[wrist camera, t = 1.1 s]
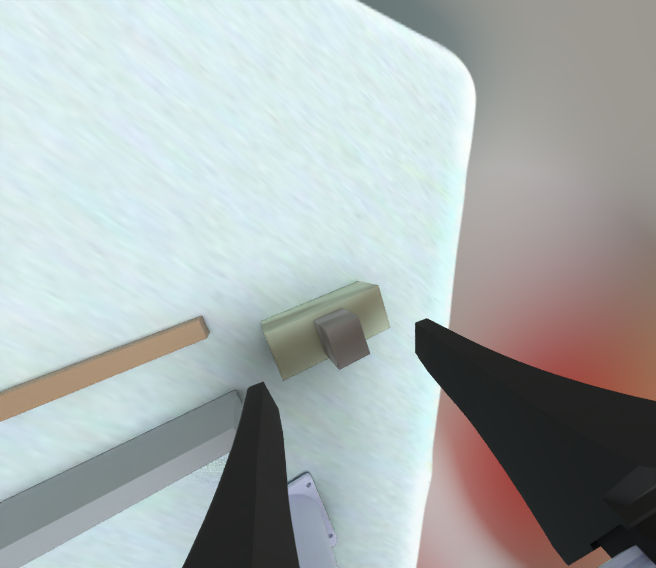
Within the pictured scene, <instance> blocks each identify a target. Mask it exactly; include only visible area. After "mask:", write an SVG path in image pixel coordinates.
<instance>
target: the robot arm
mask: <svg viewBox="0 0 656 568" xmlns="http://www.w3.org/2000/svg"><path fill="white" fill-rule="evenodd" d="M415 353H416V354H417V356H418V358H419V359H420V361H421V362H422V364H423V365H424V367H425V368H426V369H427V371H428V372H429V373H430V375H431V376H432V377H433V378H434V379H435V381H436V382H437V383H438V384H439V385H440V387H441V388H442V389H443V390H444V391H445V392H446V394H447V395H448V396H449V397H450V398H451V399H452V400H453V402H454V403H455V404H456V405H457V406H458V407H459V409H460V410H461V411H462V412H463V413H464V415H465V416H466V417H467V418H468V420H469V421H470V422H471V423H472V425H473V426H474V427H475V428H476V430H477V431H478V433H479V434H480V436H481V437H482V438H483V440H484V441H485V443H486V444H487V445H488V447H489V448H490V450H491V451H492V453H493V454H494V455H495V457H496V458H497V460H498V461H499V463H500V464H501V466H502V467H503V468H504V470H505V471H506V473H507V474H508V476H509V477H510V479H511V481H512V482H513V484H514V485H515V486H516V488H517V490H518V491H519V493H520V494H521V496H522V497H523V499H524V500H525V502H526V504H527V505H528V507H529V508H530V510H531V512H532V513H533V515H534V516H535V518H536V520H537V521H538V523H539V524H540V526H541V528H542V529H543V531H544V532H545V534H546V536H547V537H548V539H549V541H550V542H551V544H552V546H553V547H554V549H555V550H556V551H557V552H558V554H559V555H560V556H561V558H562V559H563V560H564V562H565V563H566V564H567V565H570V564H572V563H573V562H575V561H577V560H579V559H580V558H582V557H584V556H585V555H587V554H589V553H590V552H592V551H594V550H595V549H597V548H598V547H600V546H601V547H602V548H603V549H604V550H605V551H606V552H607V554H608V555H609V556H610V557H611V558H612V559H610V560H609V561H607V562H605V563H604V564H602V565H601V566H599V567H598V568H656V401H653V400H648V399H644V398H639V397H635V396H631V395H626V394H622V393H618V392H614V391H611V390H607V389H603V388H599V387H596V386H592V385H589V384H585V383H582V382H578V381H575V380H572V379H568V378H565V377H562V376H559V375H555V374H553V373H550V372H547V371H544V370H541V369H538V368H535V367H533V366H530V365H527V364H525V363H522V362H519V361H517V360H514V359H512V358H509V357H507V356H504V355H502V354H499V353H497V352H495V351H493V350H490V349H488V348H486V347H483V346H481V345H479V344H477V343H475V342H473V341H471V340H469V339H467V338H465V337H463V336H461V335H458V334H457V333H455V332H453V331H451V330H449V329H447V328H445V327H443V326H441V325H439V324H437V323H435V322H433V321H431V320H429V319H427V318H426V319H424V320H421V321H418V322H416V323H415ZM309 482H310V483H309ZM307 483H309V484H307ZM336 544H337V537H336V534H335V532H334V529H333V527H332V525H331V522H330V520H329V518H328V515H327V513H326V510H325V508H324V506H323V503H322V501H321V498H320V496H319V494H318V491H317V489H316V486H315V484H314V482H313V479H312V477H311V475H310V474H309V473H306V474H304V475H303V476H301V477H299V478H298V479H296V480H295V481H293V482H291V483H290V484H288V485H287V473H286V461H285V449H284V438H283V430H282V425H281V420H280V415H279V410H278V407H277V405H276V404H275V402H274V400H273V398H272V396H271V395H270V393H269V391H268V389H267V387H266V386H265V384H264V382H261V383H258V384H256V385H253V386H251V387H249V388H248V390H247V394H246V398H245V402H244V406H243V410H242V414H241V418H240V421H239V425H238V428H237V431H236V435H235V438H234V441H233V445H232V448H231V451H230V454H229V457H228V459H227V462H226V465H225V468H224V471H223V474H222V476H221V479H220V482H219V484H218V487H217V490H216V492H215V495H214V497H213V500H212V502H211V505H210V507H209V509H208V512H207V514H206V517H205V519H204V521H203V524H202V526H201V528H200V530H199V532H198V535H197V537H196V539H195V541H194V544H193V546H192V548H191V550H190V552H189V554H188V557H187V559H186V561H185V563H184V565H183V567H182V568H338V566H337V562H336V559H335V556H334V553H333V550H332V547H334V546H335V545H336Z"/></svg>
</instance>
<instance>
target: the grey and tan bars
mask: <svg viewBox="0 0 656 568" xmlns="http://www.w3.org/2000/svg"><path fill="white" fill-rule="evenodd" d="M208 334H209V331H208V329H207V326H206V324H205V322H204V320H203V318H202V316H200V317H198V318H195V319H192V320H190V321H187V322H185V323H182V324H179V325H177V326H174V327H171V328H169V329H166V330H163V331H161V332H158V333H155V334H153V335H150V336H147V337H145V338H142V339H140V340H137V341H134V342H132V343H129V344H126V345H124V346H121V347H118V348H116V349H113V350H110V351H108V352H105V353H103V354H100V355H97V356H95V357H92V358H89V359H87V360H84V361H81V362H79V363H76V364H73V365H71V366H68V367H65V368H63V369H60V370H58V371H55V372H52V373H50V374H47V375H44V376H42V377H39V378H36V379H34V380H31V381H28V382H26V383H23V384H20V385H18V386H15V387H13V388H10V389H7V390H5V391H2V392H0V422H1V421H4V420H6V419H9V418H11V417H13V416H16V415H18V414H21V413H23V412H26V411H28V410H31V409H33V408H36V407H38V406H41V405H43V404H46V403H48V402H50V401H53V400H55V399H58V398H60V397H63V396H65V395H68V394H70V393H73V392H75V391H78V390H80V389H83V388H85V387H87V386H90V385H92V384H95V383H97V382H100V381H102V380H105V379H107V378H110V377H112V376H115V375H117V374H120V373H122V372H124V371H127V370H129V369H132V368H134V367H137V366H139V365H142V364H144V363H147V362H149V361H152V360H154V359H157V358H159V357H161V356H164V355H166V354H169V353H171V352H174V351H176V350H179V349H181V348H184V347H186V346H189V345H191V344H194V343H196V342H198V341H201V340H203V339H206V338H207V337H208ZM241 414H242V403H241V401H240V398H239V396H238V394H237V392H236V390H234V391H232V392H230V393H228V394H226V395H223V396H221V397H219V398H217V399H215V400H213V401H211V402H209V403H207V404H205V405H203V406H201V407H198V408H196V409H194V410H192V411H190V412H188V413H186V414H184V415H182V416H180V417H178V418H176V419H173V420H171V421H169V422H167V423H165V424H163V425H161V426H159V427H157V428H155V429H153V430H151V431H148V432H146V433H144V434H142V435H140V436H138V437H136V438H134V439H132V440H130V441H128V442H126V443H123V444H121V445H119V446H117V447H115V448H113V449H111V450H109V451H107V452H105V453H103V454H101V455H98V456H96V457H94V458H92V459H90V460H88V461H86V462H84V463H82V464H80V465H78V466H76V467H73V468H71V469H69V470H67V471H65V472H63V473H61V474H59V475H57V476H55V477H53V478H51V479H48V480H46V481H44V482H42V483H40V484H38V485H36V486H34V487H32V488H30V489H28V490H26V491H23V492H21V493H19V494H17V495H15V496H13V497H11V498H9V499H7V500H5V501H3V502H1V503H0V568H20V567H21V566H23V565H25V564H27V563H29V562H30V561H32V560H34V559H36V558H38V557H40V556H41V555H43V554H45V553H47V552H49V551H50V550H52V549H54V548H56V547H58V546H60V545H61V544H63V543H65V542H67V541H69V540H70V539H72V538H74V537H76V536H78V535H80V534H81V533H83V532H85V531H87V530H89V529H90V528H92V527H94V526H96V525H98V524H100V523H101V522H103V521H105V520H107V519H109V518H110V517H112V516H114V515H116V514H118V513H120V512H121V511H123V510H125V509H127V508H129V507H130V506H132V505H134V504H136V503H138V502H140V501H141V500H143V499H145V498H147V497H149V496H151V495H152V494H154V493H156V492H158V491H160V490H161V489H163V488H165V487H167V486H169V485H171V484H172V483H174V482H176V481H178V480H180V479H181V478H183V477H185V476H187V475H189V474H191V473H192V472H194V471H196V470H198V469H200V468H201V467H203V466H205V465H207V464H209V463H211V462H212V461H214V460H216V459H218V458H220V457H221V456H223V455H225V454H227V453H229V452H230V451H231V448H232V445H233V441H234V438H235V435H236V431H237V428H238V425H239V421H240V418H241Z"/></svg>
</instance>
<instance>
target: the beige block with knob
mask: <svg viewBox="0 0 656 568" xmlns="http://www.w3.org/2000/svg"><path fill="white" fill-rule="evenodd" d="M260 322H261V325H262V329H263V332H264V335H265V337H266V340H267V342H268V345H269V347H270V350H271V352H272V355H273V357H274V360H275V362H276V365H277V367H278V369H279V372H280V374H281V377H282V379H283V381H284V380H286V379H288V378H290V377H292V376H294V375H296V374H298V373H300V372H302V371H304V370H306V369H308V368H310V367H312V366H314V365H316V364H318V363H320V362H322V361H324V360H326V359H328V358H329V359H330V360H331V361H332V362H333V363H334V364H335V365H336V367H337V368H338V369H339V370H340V369H342V368H344V367H346V366H348V365H350V364H352V363H354V362H355V361H357V360H359V359H361V358H363V357H365V356H367V355H369V354H370V352H369V349H368V346H367V342H366V339H368V338H370V337H372V336H374V335H376V334H378V333H380V332H382V331H384V330H386V329H388V328H390V325H389V321H388V318H387V314H386V310H385V307H384V303H383V300H382V296H381V293H380V289H379V286H378V285H374V284H369V283H364V282H359V281H357V282H355V283H353V284H350V285H348V286H345V287H343V288H340V289H338V290H336V291H333V292H331V293H328V294H326V295H323V296H321V297H319V298H316V299H314V300H311V301H309V302H306V303H304V304H302V305H299V306H297V307H294V308H292V309H289V310H287V311H285V312H282V313H280V314H277V315H275V316H272V317H270V318H268V319H265V320H263V321H260Z"/></svg>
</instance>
